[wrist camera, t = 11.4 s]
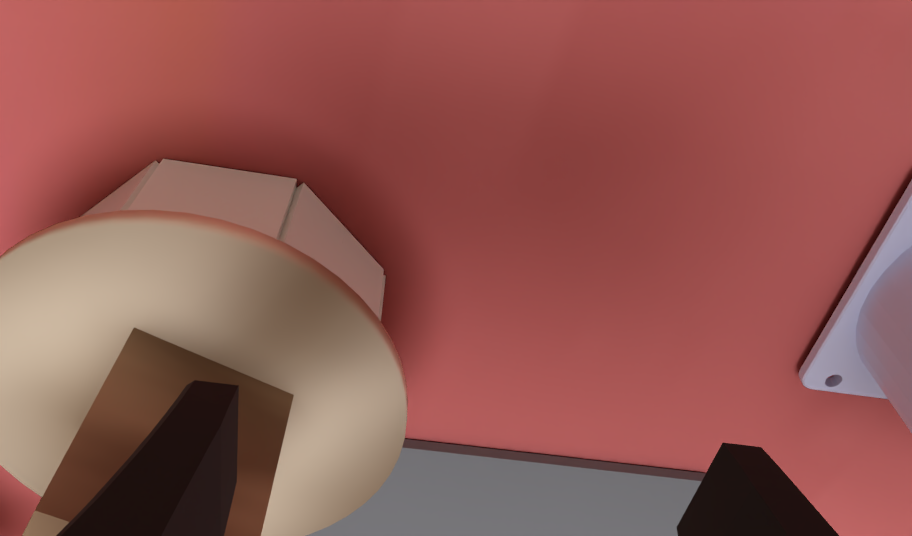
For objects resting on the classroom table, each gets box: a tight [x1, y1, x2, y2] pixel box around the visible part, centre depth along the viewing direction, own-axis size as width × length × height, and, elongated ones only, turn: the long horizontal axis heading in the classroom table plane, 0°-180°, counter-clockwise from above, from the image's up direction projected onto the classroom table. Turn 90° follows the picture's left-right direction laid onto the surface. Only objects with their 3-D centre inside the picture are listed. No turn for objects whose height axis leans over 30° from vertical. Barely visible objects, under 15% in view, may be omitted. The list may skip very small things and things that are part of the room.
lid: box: [0, 210, 408, 536], centre depth 17 cm, size 11×11×6 cm
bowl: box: [81, 159, 386, 321], centre depth 21 cm, size 9×9×4 cm
